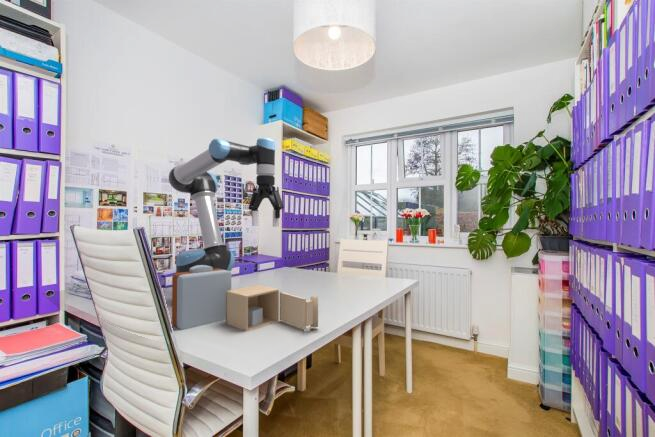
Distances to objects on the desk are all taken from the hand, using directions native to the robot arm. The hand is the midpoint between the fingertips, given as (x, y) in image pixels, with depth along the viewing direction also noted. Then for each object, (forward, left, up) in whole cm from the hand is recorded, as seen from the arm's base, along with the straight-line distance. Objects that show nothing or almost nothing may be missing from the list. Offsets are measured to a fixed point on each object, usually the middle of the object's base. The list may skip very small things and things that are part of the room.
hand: (265, 226), depth 131 cm
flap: (+26, -6, -34) cm, 43 cm away
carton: (+12, -15, -35) cm, 39 cm away
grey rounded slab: (-3, -26, -35) cm, 44 cm away
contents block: (+12, -15, -34) cm, 39 cm away
